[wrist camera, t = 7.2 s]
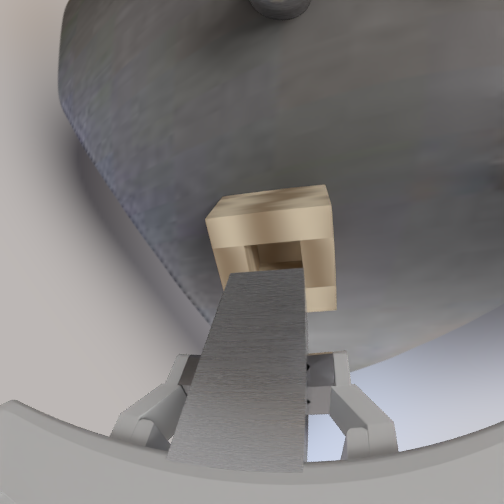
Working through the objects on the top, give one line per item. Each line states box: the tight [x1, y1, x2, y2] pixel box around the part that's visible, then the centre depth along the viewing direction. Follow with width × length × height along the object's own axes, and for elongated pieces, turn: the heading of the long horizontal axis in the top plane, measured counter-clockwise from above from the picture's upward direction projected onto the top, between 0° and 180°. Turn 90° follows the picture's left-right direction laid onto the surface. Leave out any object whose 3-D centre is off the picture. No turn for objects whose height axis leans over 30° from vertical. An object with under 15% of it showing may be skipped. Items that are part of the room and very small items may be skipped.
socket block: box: [205, 185, 337, 312], centre depth 28 cm, size 10×10×6 cm
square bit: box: [166, 268, 308, 473], centre depth 10 cm, size 3×3×10 cm
